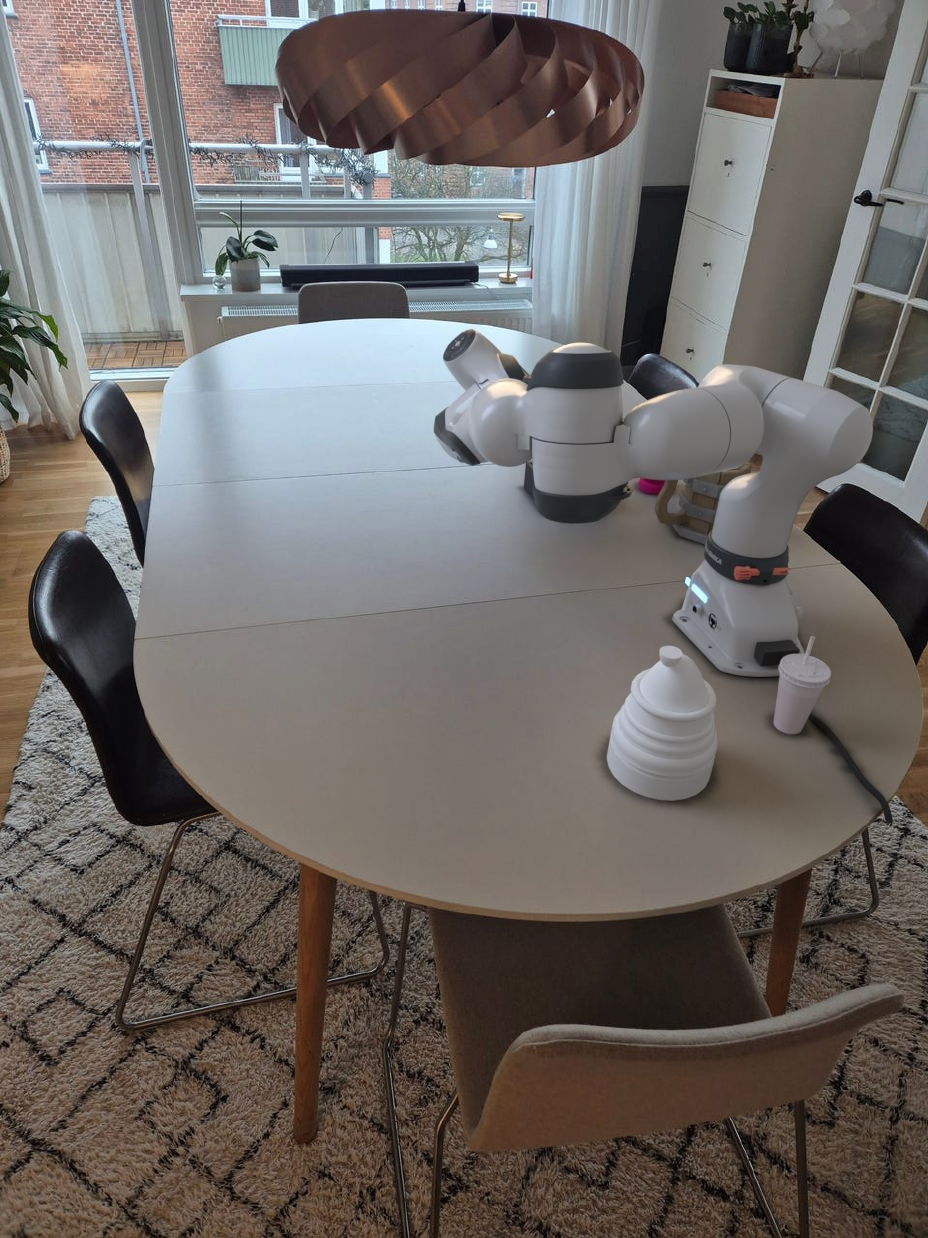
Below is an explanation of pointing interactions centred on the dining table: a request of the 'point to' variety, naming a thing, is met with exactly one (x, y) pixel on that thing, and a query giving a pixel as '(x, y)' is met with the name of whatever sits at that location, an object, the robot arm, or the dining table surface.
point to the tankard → (696, 503)
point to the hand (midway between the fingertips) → (547, 441)
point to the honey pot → (665, 731)
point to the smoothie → (799, 689)
